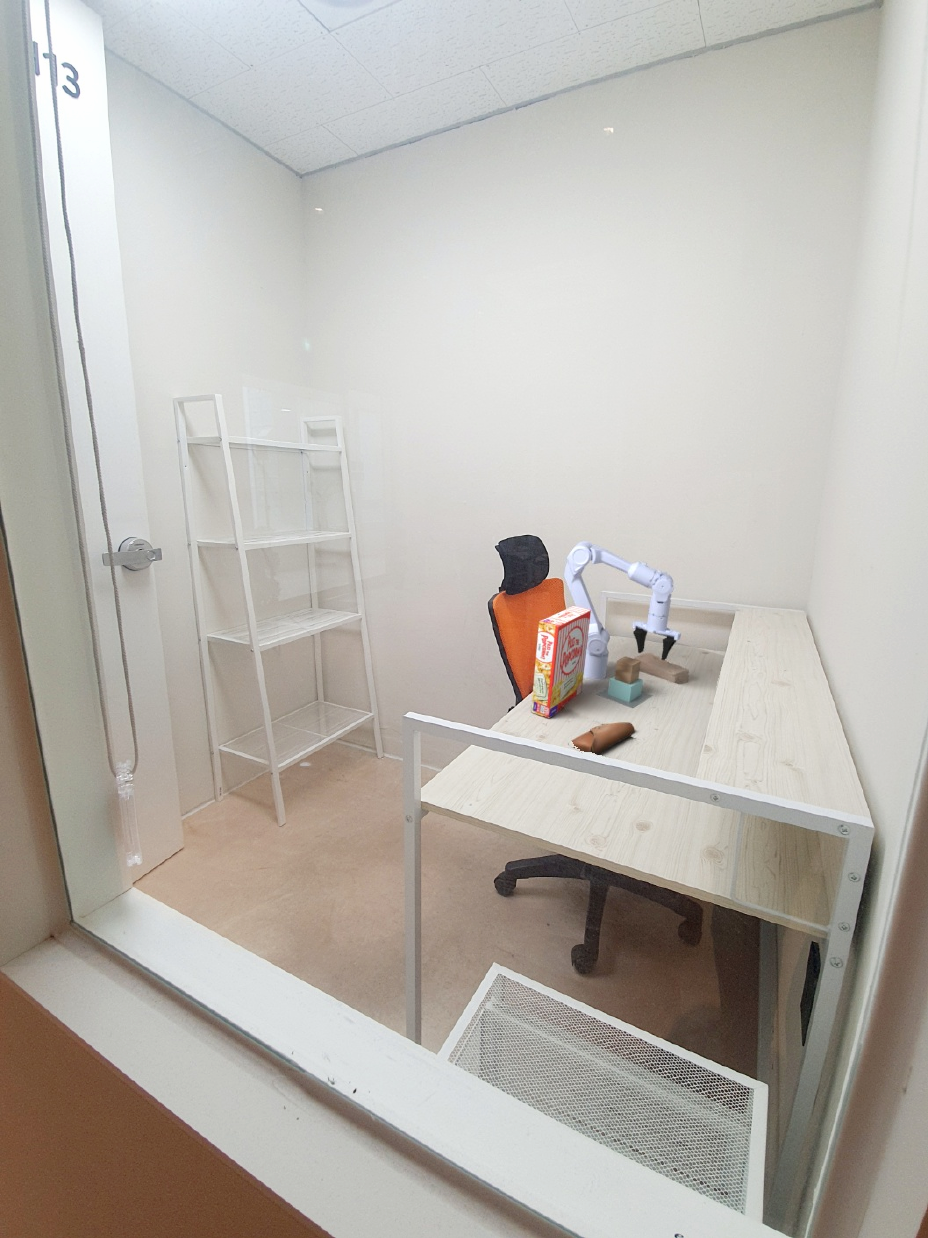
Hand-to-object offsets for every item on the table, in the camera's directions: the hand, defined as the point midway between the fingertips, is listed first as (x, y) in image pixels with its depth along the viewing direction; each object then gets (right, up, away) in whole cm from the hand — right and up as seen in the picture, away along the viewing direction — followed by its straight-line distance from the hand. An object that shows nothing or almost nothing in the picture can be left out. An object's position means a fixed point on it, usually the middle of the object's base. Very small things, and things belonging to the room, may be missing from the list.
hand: (652, 655), depth 164 cm
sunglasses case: (-23, -20, -28) cm, 42 cm away
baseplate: (-10, -12, -5) cm, 17 cm away
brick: (+7, -7, +13) cm, 16 cm away
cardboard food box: (-31, -13, -9) cm, 35 cm away
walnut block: (-10, -7, -7) cm, 14 cm away
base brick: (-10, -11, -5) cm, 16 cm away
